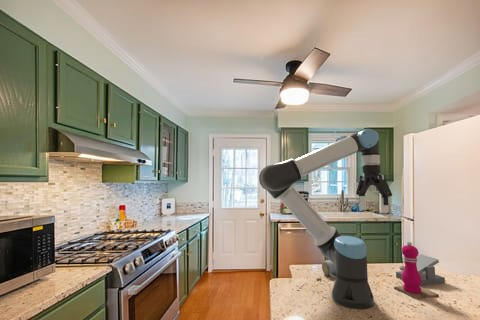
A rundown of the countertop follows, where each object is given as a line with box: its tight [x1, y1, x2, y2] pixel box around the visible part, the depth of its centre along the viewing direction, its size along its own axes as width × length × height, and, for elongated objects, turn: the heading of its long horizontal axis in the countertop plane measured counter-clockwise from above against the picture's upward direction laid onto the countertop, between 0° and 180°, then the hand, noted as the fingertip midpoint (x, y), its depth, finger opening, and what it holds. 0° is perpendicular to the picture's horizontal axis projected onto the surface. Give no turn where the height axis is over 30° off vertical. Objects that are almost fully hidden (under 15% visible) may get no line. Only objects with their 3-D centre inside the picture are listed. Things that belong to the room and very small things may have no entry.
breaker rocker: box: [398, 253, 440, 274], centre depth 124 cm, size 14×9×4 cm, turn 104°
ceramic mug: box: [321, 259, 336, 280], centre depth 130 cm, size 11×8×8 cm
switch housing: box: [395, 260, 446, 287], centre depth 124 cm, size 15×13×8 cm
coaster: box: [393, 285, 440, 300], centre depth 110 cm, size 11×11×1 cm
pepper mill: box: [401, 241, 422, 294], centre depth 111 cm, size 7×7×20 cm
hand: (373, 211), depth 120 cm, fingers open, 13 cm apart
